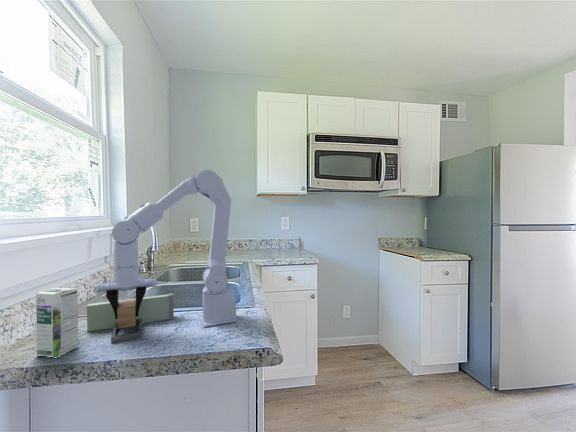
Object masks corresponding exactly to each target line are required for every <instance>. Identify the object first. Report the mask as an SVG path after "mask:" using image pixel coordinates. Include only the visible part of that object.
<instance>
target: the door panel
mask: <svg viewBox="0 0 576 432" xmlns="http://www.w3.org/2000/svg"><path fill="white" fill-rule="evenodd" d="M130 299H131V298H127V299H125V300H130ZM133 299H136V297H134V298H133ZM122 300H123V299H118V305H119V302H120V301H122ZM174 312H175V310H174V293H172V292H171V293H168V294H161V295H160V294H159V295H152V296H144V297H143V299H142V302H141V305H140V308H139V315H138V316H136V320H137V319H142V324H145V323H152V322H158V321H164V320H172V319H175V318H174V317H175V316H174V314H175V313H174ZM115 323H117V319H115V314H114V310H113V308H112V306H111V304H110V302H109V301H103V302H95V303H88V304H87V305H86V328H87V329H86V331H87V332H94V331H95V332H96V331H102V330H107V329H114V325H115Z"/></svg>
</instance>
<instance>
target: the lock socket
mask: <svg viewBox="0 0 576 432" xmlns="http://www.w3.org/2000/svg"><path fill="white" fill-rule="evenodd" d="M136 326H138V331H135V332H129V333H123V334H117V332H118V322H117V323H115V325H114V328H112V333H111V335H110V344H114V343H120V341H121V342H126V340H127V341H131V339H133V340H136V339H137V338H138V339H142V333H143V323H142V319H137V320H136V325H135V326H134V327H136Z"/></svg>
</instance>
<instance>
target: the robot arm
mask: <svg viewBox="0 0 576 432" xmlns="http://www.w3.org/2000/svg"><path fill="white" fill-rule="evenodd" d="M195 177H196V178H195ZM198 193H199V194H201V195H203V196H204V197H206V198H207V199H208V200H209V202H211V203H212V204H213V213H212V214H213V215H212V223H211V224H212V225H211V233H210V243H209V253H208V259H207V262H206V263H207V264H206V267H205V269H204V271H203V272H202V280H203V283H204V285H205V286H204V287H203V289H202V292H201V293H202V294H201V295H202V315H201V316H200V317H199V321H200V322H201V325H202V326H203V327H204V328H206V327H213V326H219V325H224V324H229V323H236V322H237V321H238V319H237V297H236V296H237V295H236V291H235V290H234V289H233V288H228V287H227V286H228V282H229V279H228V276H227V272H226V271H227V265H226V253H227V245H228V235H229V226H230V225H229V224H230V217H231V216H230V215H231V207H232V199H231V196H230V194H229V192H228V191H227V188H226V186H225V184H224V182H223V179H222V178H221V177H220V175H218V173H216V172H215V171H213V170H210V169H203V170H201V171H200V172H199V173H198V174H197V175H196V174H195V175H193V176H191V177H189V178H187V179H186V180H184V181H182V182H181V183H179V184H178V185H177V186H175V188H173V189H172V190H171V191H169V192H168V193H167V194H166V195H164V196H163V197H162V198H161V199H159V200H158V201H156V202H150V201H149V202H147V203H141V204H140V205H139V206H138V207H139V208H138V209H137V210H136V211H134V212H132V214H130V215H126V216H124V220H121V221H118V222H116V224H115V225H114V226H113V228H112V230H111V236H112V238H113V240H114V250H113V266H114V267H113V269H114V270H113V271H114V275H113V276H114V281H113V282H107V283H97V284H95V285H94V287H93V292H94V295H95V294H101V293H106V294H105V297H106V299H107V301H108V302H110V304H111V306H112V308H113V310H114V314H115V319H117V308H118V300H119V291H127V290H135V298H136V316H138V315H139V308H140V305H141V302H142V299H143V297H145V295H146V292H147V288H157V282H158V281H157V278H151V279H150V278H149V279H145V278H144V279H140V275H139V274H140V273H139V272H140V271H139V269H140V268H139V247H138V237H140V234H141V233H142V234H143V233H145V232H147V231H148V230H149V229H151V227H154V226H155V225H156V224H157V223H159V222H160V221H161V220H163V219H164V212H165V211H166V210H168V209H169V208H170V207H172V206H173V205H175V204H176V203H177V202H179V201H181V200H182V199H183V198H185V197H186V196H190V195H191V196H192V195H197V194H198Z"/></svg>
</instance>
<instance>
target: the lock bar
mask: <svg viewBox="0 0 576 432" xmlns="http://www.w3.org/2000/svg"><path fill="white" fill-rule="evenodd" d="M129 299H130V300H126V299H121V300H122V301H120V302H119V305H118V308H117V322H118V329H124V328H130V327H136V326H135V325H136V299H134V298H129ZM118 329H117V330H118Z"/></svg>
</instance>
